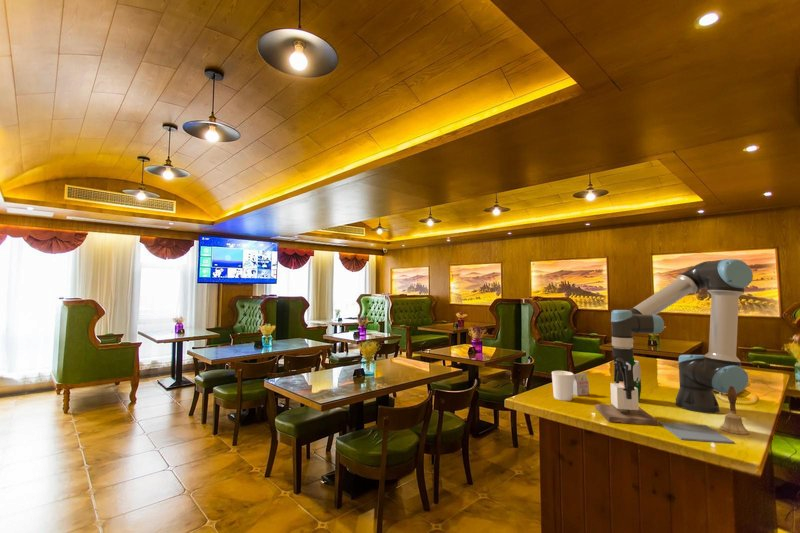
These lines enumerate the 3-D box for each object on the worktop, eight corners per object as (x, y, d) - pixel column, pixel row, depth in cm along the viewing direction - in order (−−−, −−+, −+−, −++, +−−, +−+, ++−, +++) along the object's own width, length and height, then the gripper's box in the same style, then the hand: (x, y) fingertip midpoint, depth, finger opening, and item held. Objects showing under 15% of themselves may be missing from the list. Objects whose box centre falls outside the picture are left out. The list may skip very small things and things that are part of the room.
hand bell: (713, 426, 142) (711, 384, 143) (733, 426, 143) (731, 383, 144) (734, 435, 134) (732, 389, 135) (756, 434, 134) (753, 389, 135)
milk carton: (619, 400, 175) (618, 357, 177) (620, 395, 183) (618, 354, 184) (641, 403, 171) (640, 359, 172) (641, 398, 178) (640, 356, 180)
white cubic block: (611, 403, 158) (610, 380, 158) (630, 404, 156) (630, 381, 157) (617, 408, 150) (616, 385, 151) (638, 410, 149) (637, 386, 149)
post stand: (638, 411, 160) (638, 392, 160) (657, 425, 143) (656, 404, 143) (595, 408, 163) (595, 389, 163) (609, 422, 146) (608, 401, 147)
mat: (706, 426, 142) (706, 425, 142) (734, 443, 126) (734, 441, 126) (659, 423, 145) (658, 421, 145) (680, 439, 129) (680, 437, 129)
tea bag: (572, 394, 186) (571, 373, 187) (583, 393, 188) (583, 372, 188) (577, 396, 182) (576, 375, 183) (589, 395, 184) (588, 374, 185)
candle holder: (576, 402, 173) (576, 375, 173) (554, 400, 174) (553, 374, 175) (571, 396, 182) (570, 371, 183) (550, 394, 184) (549, 370, 185)
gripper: (643, 351, 144) (645, 412, 142) (623, 344, 164) (624, 397, 163) (621, 351, 145) (623, 411, 144) (604, 343, 165) (605, 396, 164)
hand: (624, 403), depth 153 cm, fingers closed on white cubic block, 8 cm apart
